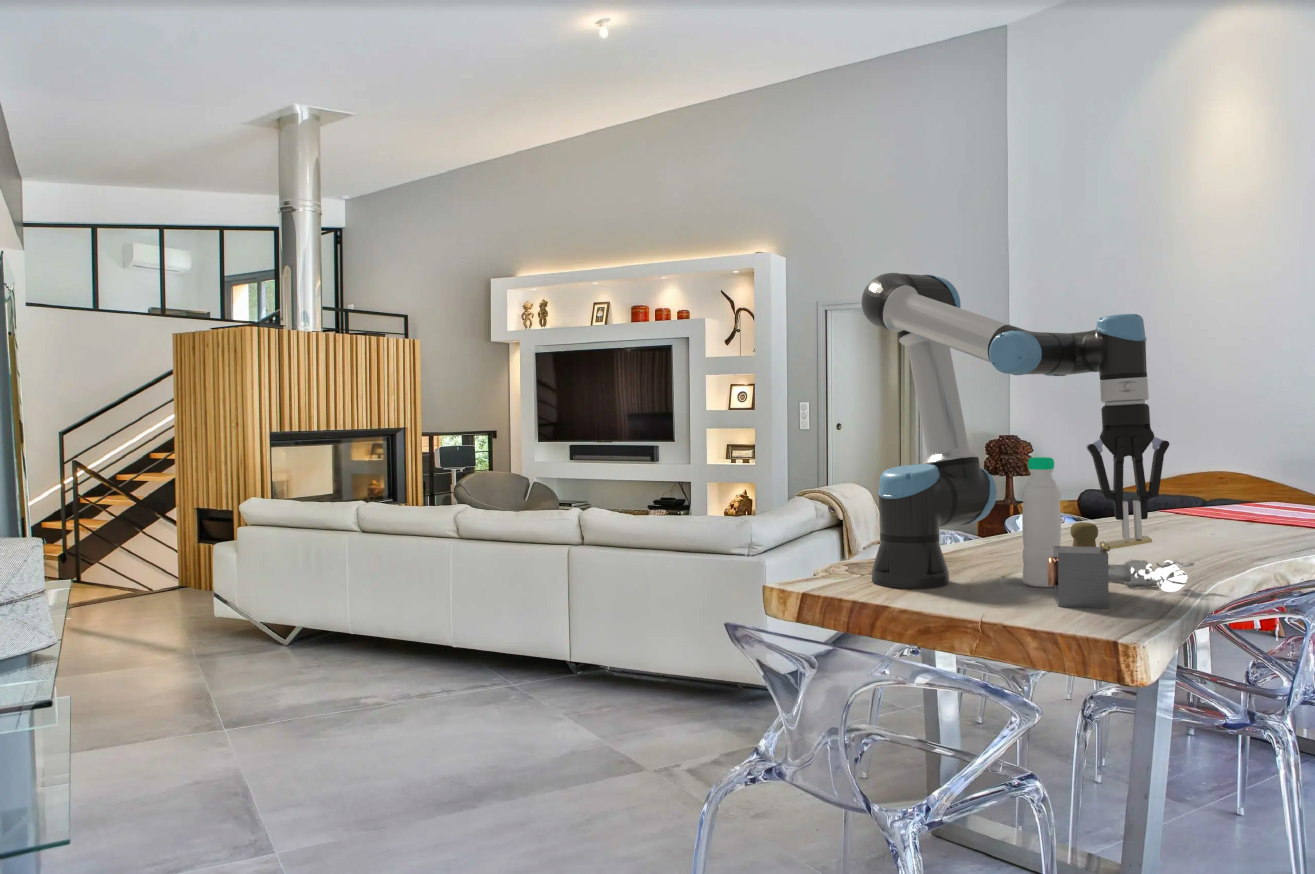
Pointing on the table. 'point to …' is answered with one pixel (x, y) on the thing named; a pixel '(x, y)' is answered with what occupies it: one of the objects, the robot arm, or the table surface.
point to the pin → (1114, 572)
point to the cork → (1084, 534)
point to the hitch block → (1081, 577)
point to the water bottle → (1040, 521)
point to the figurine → (1158, 574)
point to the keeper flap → (1124, 543)
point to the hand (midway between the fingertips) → (1132, 538)
